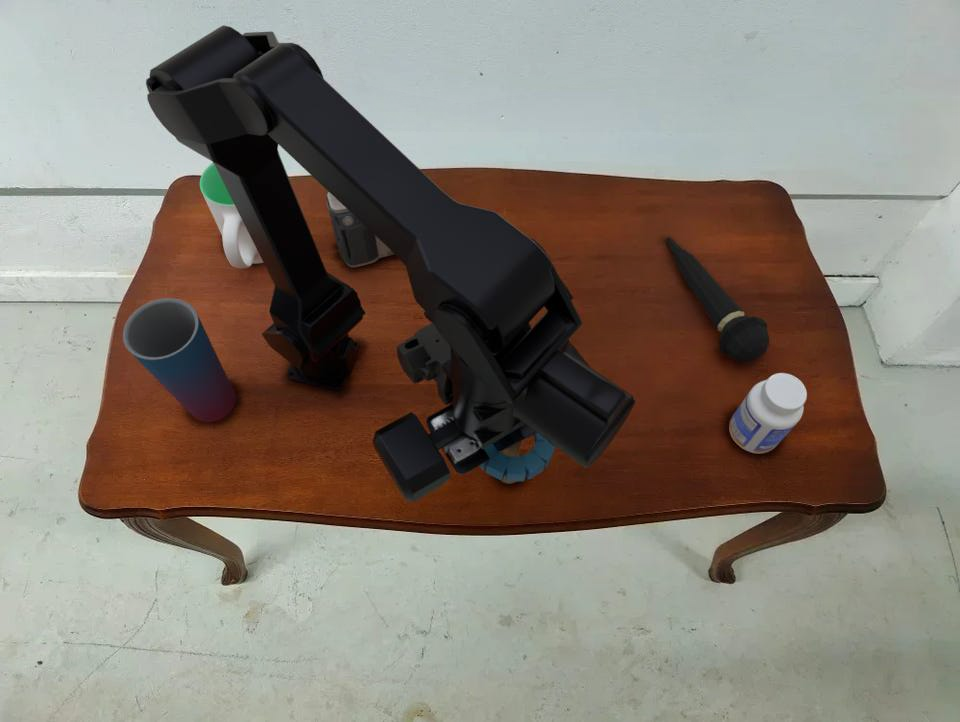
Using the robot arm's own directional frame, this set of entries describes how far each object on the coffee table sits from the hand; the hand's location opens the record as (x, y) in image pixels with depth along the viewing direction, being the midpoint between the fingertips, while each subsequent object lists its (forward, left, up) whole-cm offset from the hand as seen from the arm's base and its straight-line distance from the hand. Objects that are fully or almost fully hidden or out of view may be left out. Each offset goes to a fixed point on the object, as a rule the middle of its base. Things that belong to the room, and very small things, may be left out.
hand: (486, 453), depth 66 cm
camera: (-20, +28, -9) cm, 36 cm away
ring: (+2, +2, -1) cm, 3 cm away
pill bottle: (+27, +14, -9) cm, 31 cm away
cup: (-31, +2, -9) cm, 33 cm away
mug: (-35, +23, -9) cm, 43 cm away
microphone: (+21, +30, -9) cm, 37 cm away
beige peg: (+2, +2, -9) cm, 9 cm away
